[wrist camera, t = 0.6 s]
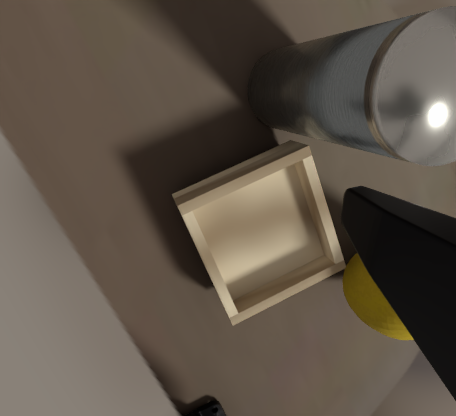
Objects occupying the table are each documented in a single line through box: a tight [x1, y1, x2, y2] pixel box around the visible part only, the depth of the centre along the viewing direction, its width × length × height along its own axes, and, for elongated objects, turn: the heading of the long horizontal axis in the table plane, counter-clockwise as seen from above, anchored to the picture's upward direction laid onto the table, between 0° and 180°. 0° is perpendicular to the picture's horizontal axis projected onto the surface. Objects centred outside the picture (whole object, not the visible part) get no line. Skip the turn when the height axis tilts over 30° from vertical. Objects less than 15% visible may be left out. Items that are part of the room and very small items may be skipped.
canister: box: [248, 6, 456, 166], centre depth 18 cm, size 5×5×13 cm
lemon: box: [343, 253, 414, 340], centre depth 26 cm, size 6×6×8 cm
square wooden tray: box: [172, 140, 346, 325], centre depth 25 cm, size 8×8×4 cm
